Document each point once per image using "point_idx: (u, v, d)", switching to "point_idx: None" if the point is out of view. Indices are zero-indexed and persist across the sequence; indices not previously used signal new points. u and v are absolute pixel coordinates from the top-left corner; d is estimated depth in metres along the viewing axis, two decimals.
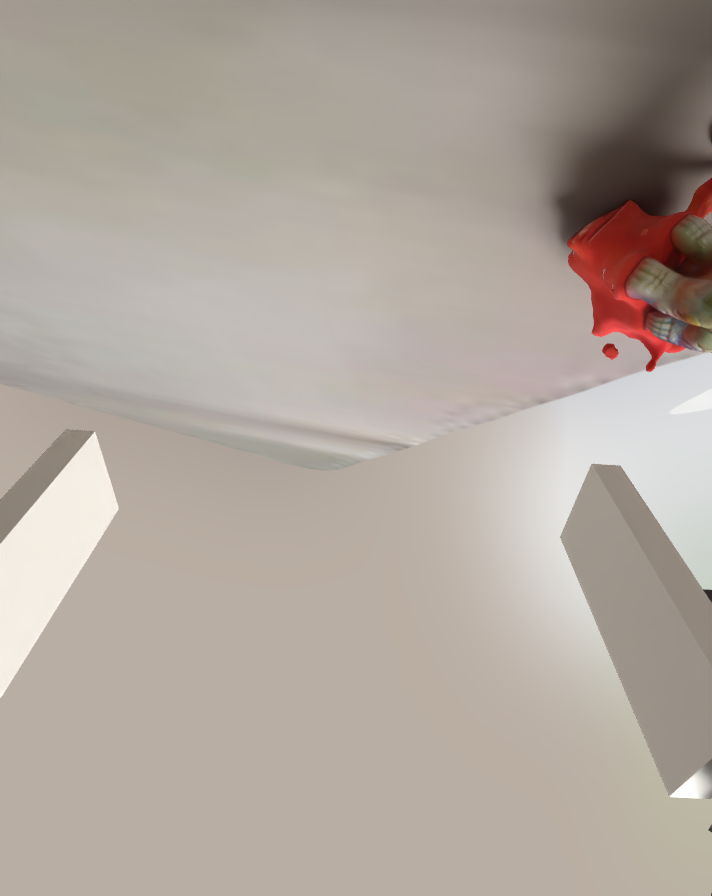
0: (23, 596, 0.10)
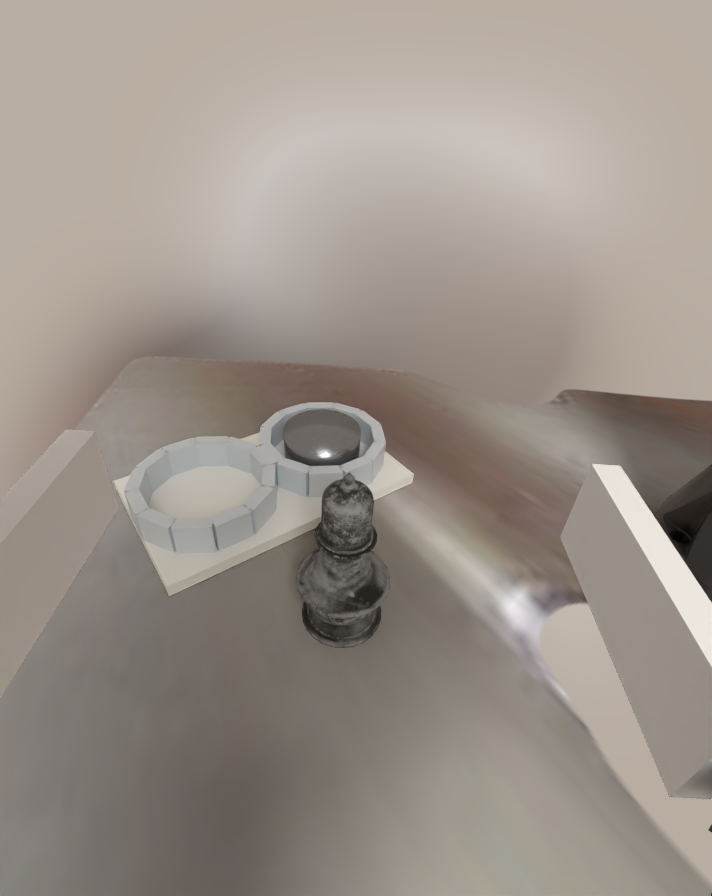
0: (23, 596, 0.10)
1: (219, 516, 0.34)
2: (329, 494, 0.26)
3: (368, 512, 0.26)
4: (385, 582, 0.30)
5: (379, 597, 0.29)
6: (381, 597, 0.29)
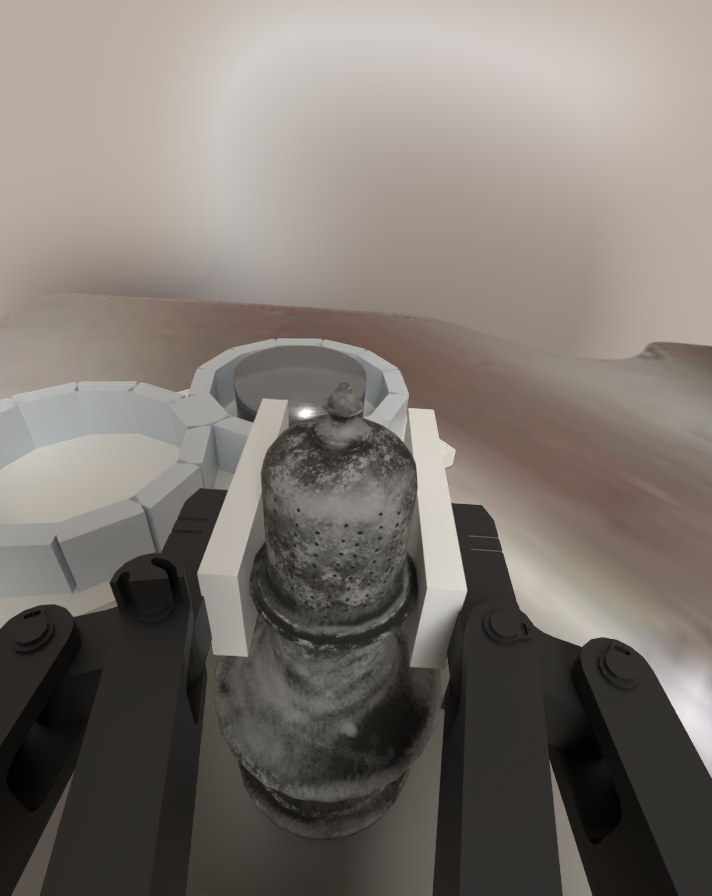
0: None
1: (75, 521, 0.17)
2: (281, 455, 0.08)
3: (404, 513, 0.08)
4: (431, 683, 0.12)
5: (420, 730, 0.12)
6: (424, 729, 0.12)
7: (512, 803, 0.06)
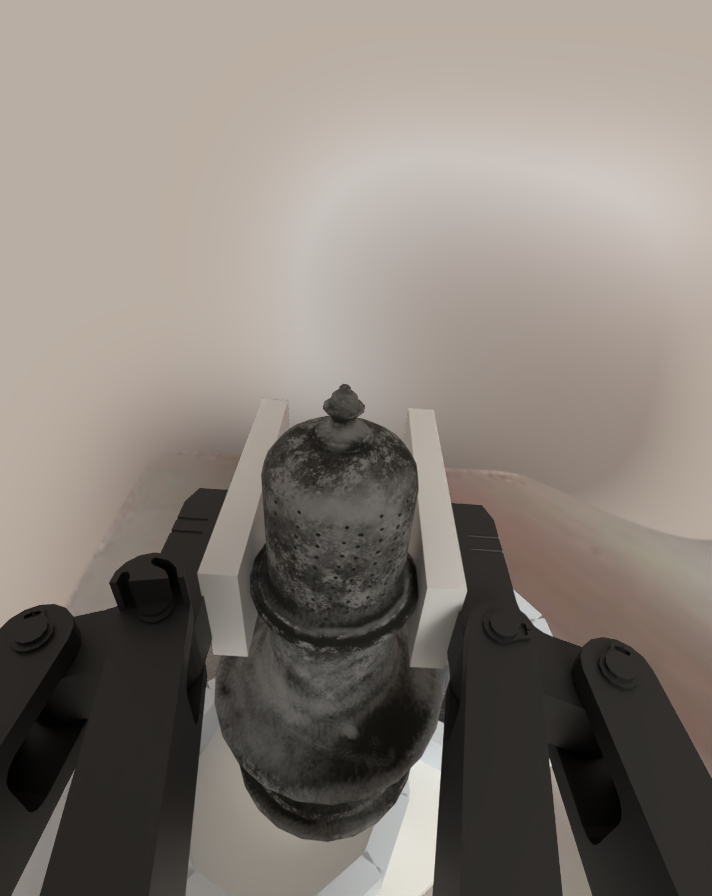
0: None
1: None
2: (282, 457, 0.08)
3: (405, 514, 0.08)
4: (431, 685, 0.12)
5: (420, 732, 0.12)
6: (425, 731, 0.12)
7: (512, 803, 0.06)
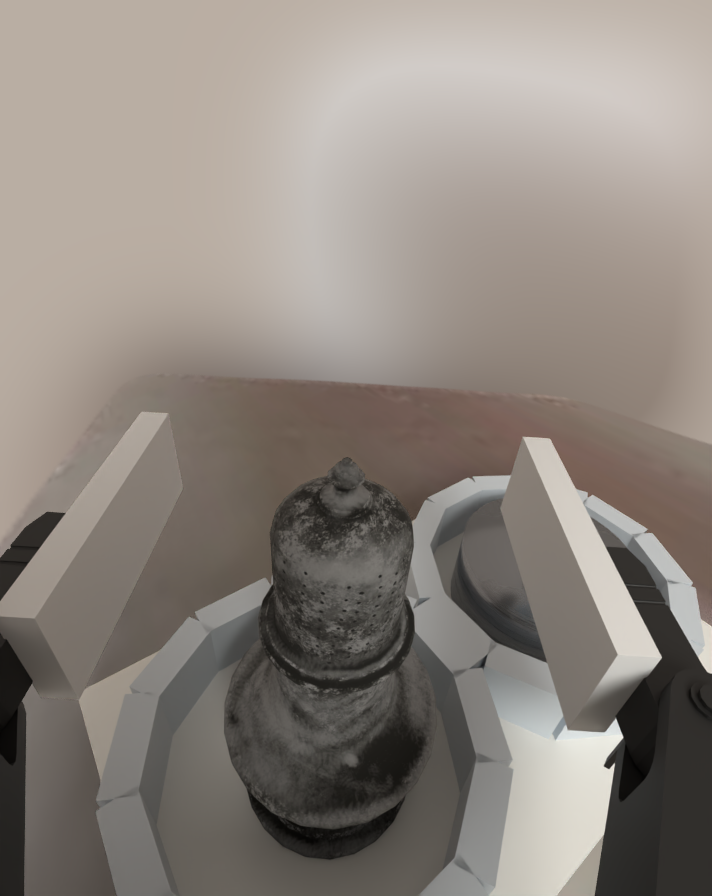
0: (118, 561, 0.11)
1: None
2: (289, 520, 0.09)
3: (401, 572, 0.09)
4: (427, 712, 0.13)
5: (416, 759, 0.12)
6: (421, 758, 0.12)
7: None
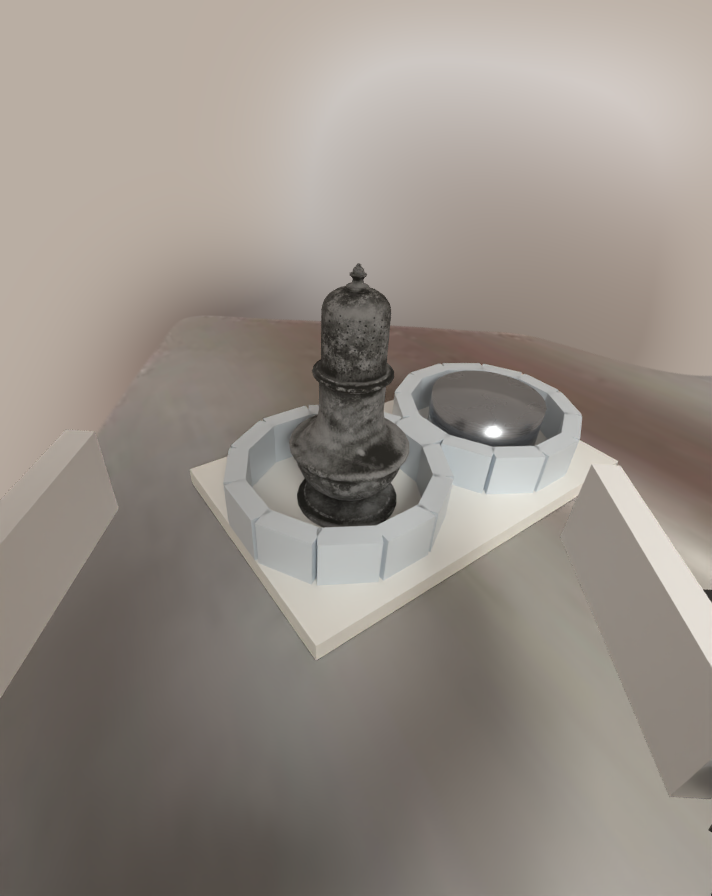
0: (23, 596, 0.10)
1: (388, 524, 0.21)
2: (331, 297, 0.19)
3: (384, 321, 0.19)
4: (403, 446, 0.24)
5: (396, 460, 0.23)
6: (399, 460, 0.23)
7: None
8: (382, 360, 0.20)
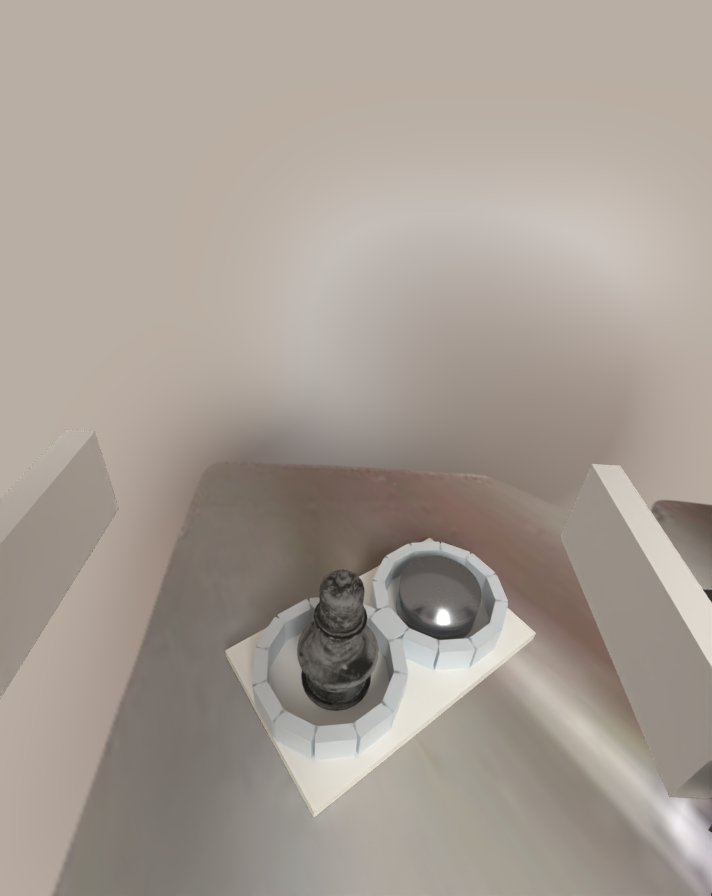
0: (23, 596, 0.10)
1: (361, 721, 0.32)
2: (326, 586, 0.30)
3: (359, 602, 0.30)
4: (374, 653, 0.35)
5: (368, 669, 0.34)
6: (370, 669, 0.34)
7: None
8: (358, 618, 0.32)
